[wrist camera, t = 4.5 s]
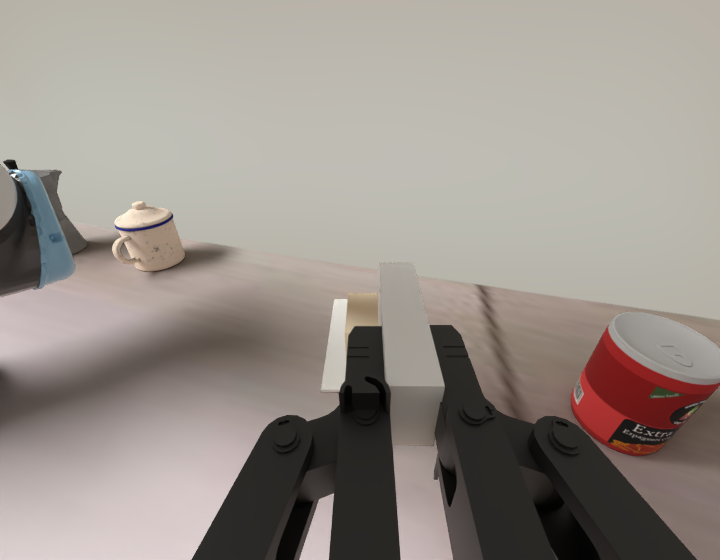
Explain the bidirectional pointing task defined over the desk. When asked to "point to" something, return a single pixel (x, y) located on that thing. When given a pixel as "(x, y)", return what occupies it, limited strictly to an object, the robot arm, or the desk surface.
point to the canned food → (644, 382)
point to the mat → (335, 349)
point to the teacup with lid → (148, 238)
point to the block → (361, 312)
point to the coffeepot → (57, 206)
